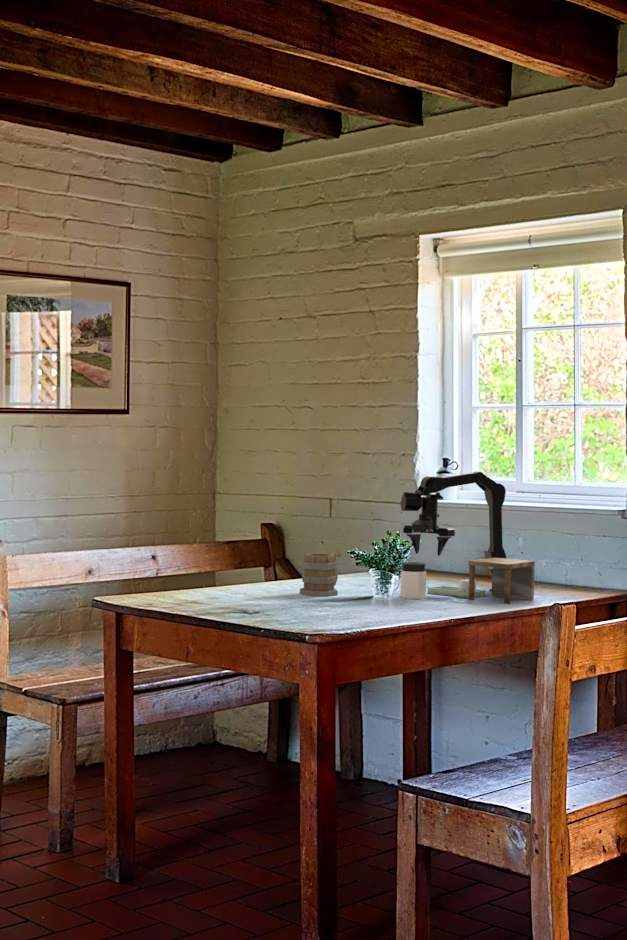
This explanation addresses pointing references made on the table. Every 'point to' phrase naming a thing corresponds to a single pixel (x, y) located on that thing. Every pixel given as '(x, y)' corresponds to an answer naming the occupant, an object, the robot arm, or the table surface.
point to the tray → (457, 590)
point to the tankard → (320, 574)
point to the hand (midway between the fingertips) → (427, 554)
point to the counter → (506, 578)
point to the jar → (413, 580)
